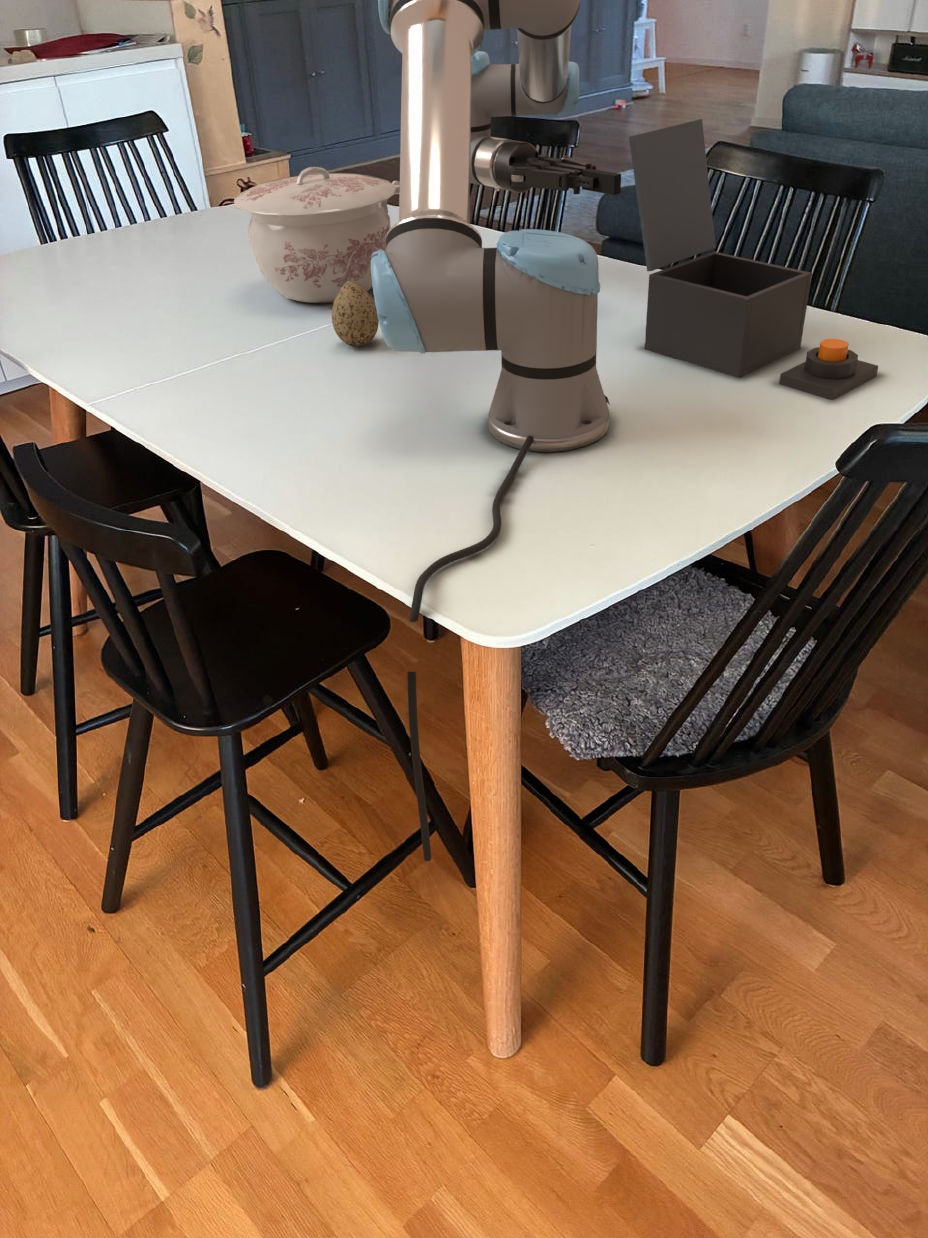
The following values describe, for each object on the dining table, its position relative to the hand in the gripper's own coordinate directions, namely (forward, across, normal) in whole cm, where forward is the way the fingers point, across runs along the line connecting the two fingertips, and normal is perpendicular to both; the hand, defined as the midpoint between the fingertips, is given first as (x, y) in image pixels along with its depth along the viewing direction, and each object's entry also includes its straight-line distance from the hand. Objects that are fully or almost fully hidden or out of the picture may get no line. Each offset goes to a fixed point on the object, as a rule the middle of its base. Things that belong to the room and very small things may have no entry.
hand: (617, 184), depth 145 cm
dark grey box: (+22, 0, -20) cm, 29 cm away
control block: (+39, 0, -20) cm, 44 cm away
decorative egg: (-21, +35, -20) cm, 46 cm away
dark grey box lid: (+11, 0, 0) cm, 11 cm away
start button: (+39, 0, -17) cm, 42 cm away
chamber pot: (-47, +23, -20) cm, 56 cm away
